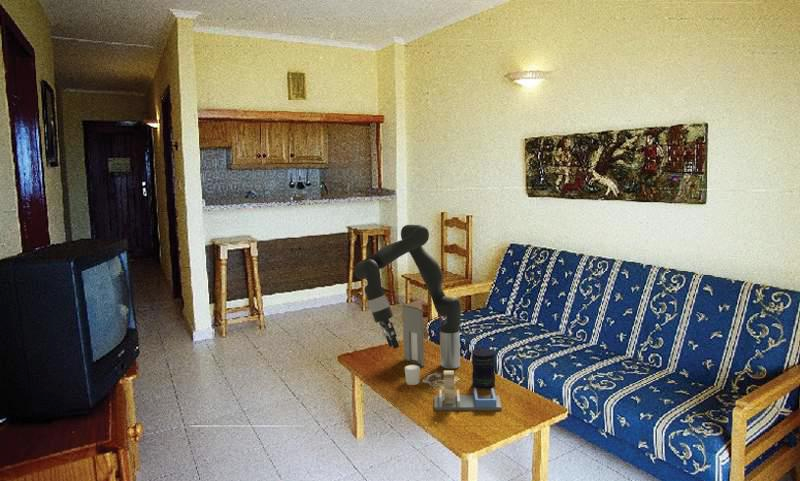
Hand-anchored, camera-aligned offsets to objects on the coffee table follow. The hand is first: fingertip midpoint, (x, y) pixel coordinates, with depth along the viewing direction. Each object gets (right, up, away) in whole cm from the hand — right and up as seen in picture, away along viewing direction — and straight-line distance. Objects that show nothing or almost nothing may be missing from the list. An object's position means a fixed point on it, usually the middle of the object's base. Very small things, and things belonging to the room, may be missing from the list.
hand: (394, 346), depth 211 cm
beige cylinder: (+8, -21, +25) cm, 34 cm away
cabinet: (+9, -17, +54) cm, 57 cm away
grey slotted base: (+29, -23, +2) cm, 37 cm away
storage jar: (+39, -21, +20) cm, 48 cm away
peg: (+22, -22, +2) cm, 31 cm away
